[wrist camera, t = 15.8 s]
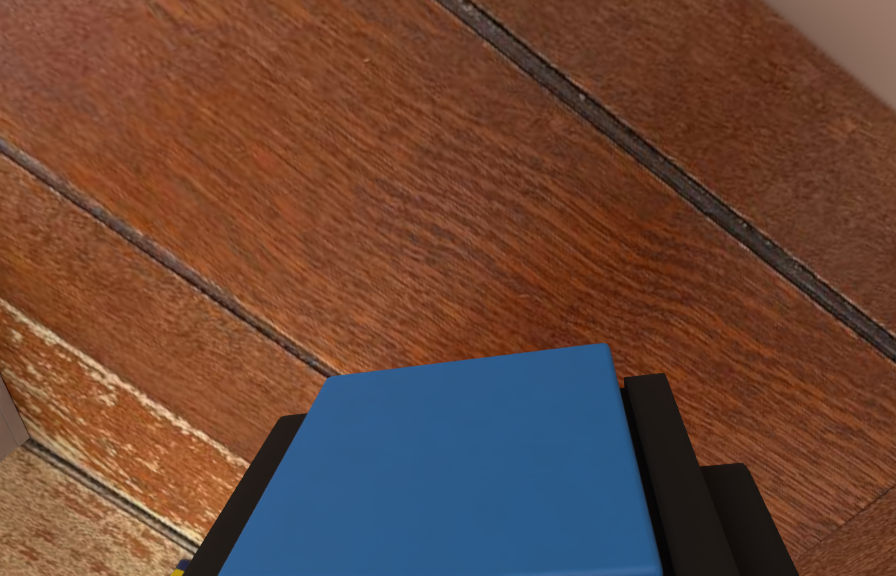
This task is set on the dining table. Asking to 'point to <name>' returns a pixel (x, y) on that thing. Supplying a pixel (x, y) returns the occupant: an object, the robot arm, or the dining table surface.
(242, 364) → the dining table surface
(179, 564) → the supplement box
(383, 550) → the blue toy cube
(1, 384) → the gray box
